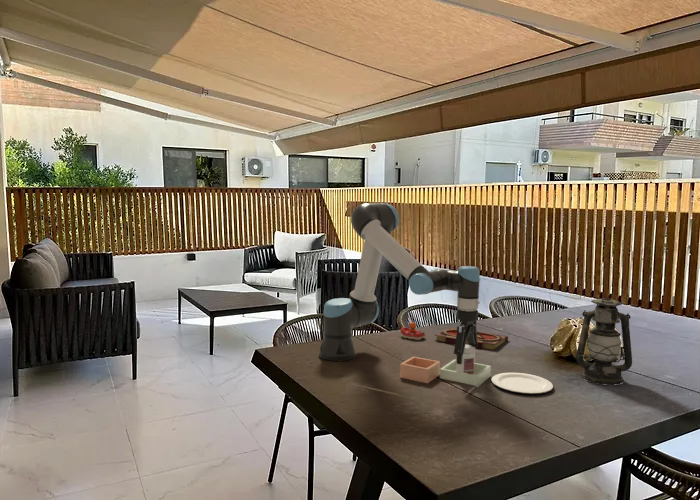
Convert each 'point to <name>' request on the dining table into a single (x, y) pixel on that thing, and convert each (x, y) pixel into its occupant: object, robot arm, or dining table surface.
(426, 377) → the orange open box
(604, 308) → the lantern
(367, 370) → the dining table surface
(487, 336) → the book
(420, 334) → the toy boat
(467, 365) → the pill bottle
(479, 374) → the green tray
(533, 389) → the plate
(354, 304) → the robot arm
